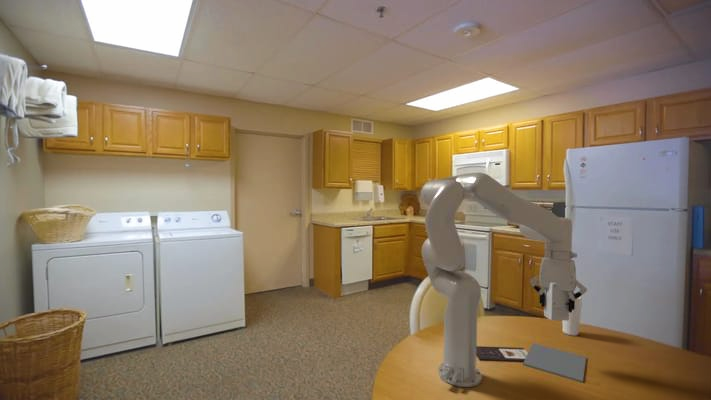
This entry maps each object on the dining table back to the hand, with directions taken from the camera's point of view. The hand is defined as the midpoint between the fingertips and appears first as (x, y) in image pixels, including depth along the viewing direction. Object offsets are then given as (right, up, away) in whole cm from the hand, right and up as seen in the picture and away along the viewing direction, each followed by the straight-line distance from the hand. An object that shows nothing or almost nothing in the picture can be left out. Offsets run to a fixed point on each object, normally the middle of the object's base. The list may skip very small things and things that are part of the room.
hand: (556, 308), depth 108 cm
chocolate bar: (-16, -18, +5) cm, 25 cm away
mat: (0, -18, +1) cm, 18 cm away
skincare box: (0, -3, 0) cm, 3 cm away
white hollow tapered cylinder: (+19, -18, +22) cm, 34 cm away
